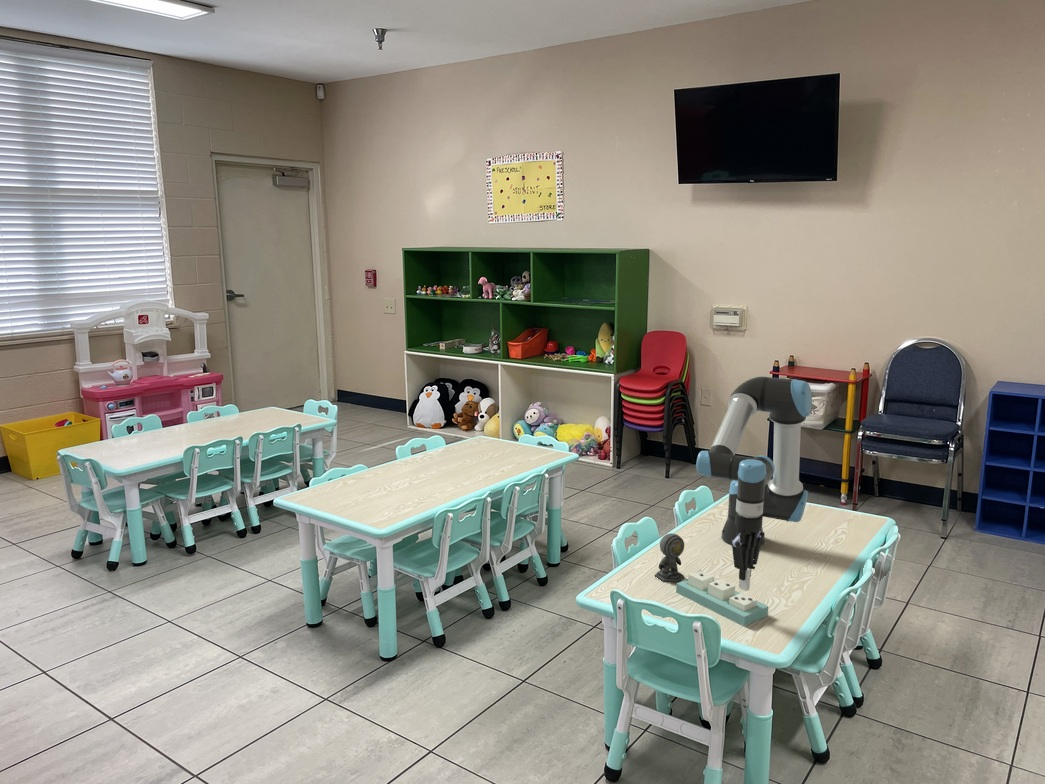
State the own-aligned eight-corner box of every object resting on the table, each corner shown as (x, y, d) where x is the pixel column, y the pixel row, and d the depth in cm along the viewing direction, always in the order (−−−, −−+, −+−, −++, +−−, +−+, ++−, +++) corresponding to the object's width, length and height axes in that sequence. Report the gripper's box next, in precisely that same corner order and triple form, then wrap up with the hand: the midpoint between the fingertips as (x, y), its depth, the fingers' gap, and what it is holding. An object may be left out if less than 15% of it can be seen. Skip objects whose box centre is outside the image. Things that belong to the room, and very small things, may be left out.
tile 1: (687, 586, 242) (688, 573, 242) (699, 581, 246) (700, 569, 245) (701, 592, 238) (702, 580, 237) (713, 588, 241) (714, 575, 240)
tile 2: (707, 595, 236) (708, 583, 235) (719, 591, 239) (720, 578, 238) (722, 603, 232) (723, 589, 231) (734, 597, 235) (735, 585, 234)
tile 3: (728, 610, 230) (729, 597, 229) (740, 605, 233) (741, 592, 232) (743, 618, 226) (744, 604, 225) (755, 612, 229) (756, 599, 228)
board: (676, 592, 243) (676, 583, 242) (699, 583, 249) (700, 574, 249) (743, 626, 223) (744, 616, 222) (767, 615, 229) (768, 606, 228)
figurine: (668, 585, 248) (670, 541, 245) (649, 573, 256) (651, 530, 253) (689, 580, 252) (691, 536, 248) (670, 568, 260) (672, 526, 257)
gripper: (745, 522, 216) (740, 600, 222) (774, 512, 224) (768, 587, 229) (724, 514, 222) (719, 590, 228) (752, 504, 230) (747, 578, 235)
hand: (744, 588), depth 228 cm, fingers closed
